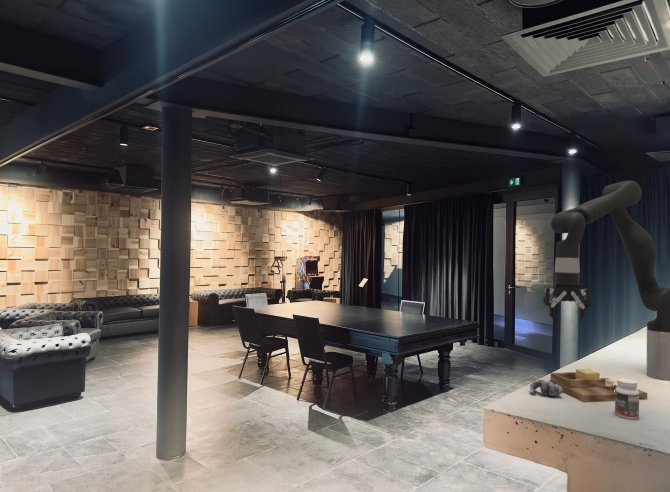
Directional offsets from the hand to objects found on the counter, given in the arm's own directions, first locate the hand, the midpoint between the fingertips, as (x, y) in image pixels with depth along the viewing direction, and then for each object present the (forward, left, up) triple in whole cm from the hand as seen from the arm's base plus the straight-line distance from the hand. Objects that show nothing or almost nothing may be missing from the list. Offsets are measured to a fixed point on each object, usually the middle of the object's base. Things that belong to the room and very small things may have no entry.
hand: (566, 319), depth 154 cm
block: (-6, +2, -21) cm, 22 cm away
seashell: (+11, +6, -24) cm, 27 cm away
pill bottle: (0, +26, -24) cm, 35 cm away
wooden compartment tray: (-7, +6, -23) cm, 25 cm away
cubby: (-3, +2, -21) cm, 22 cm away
